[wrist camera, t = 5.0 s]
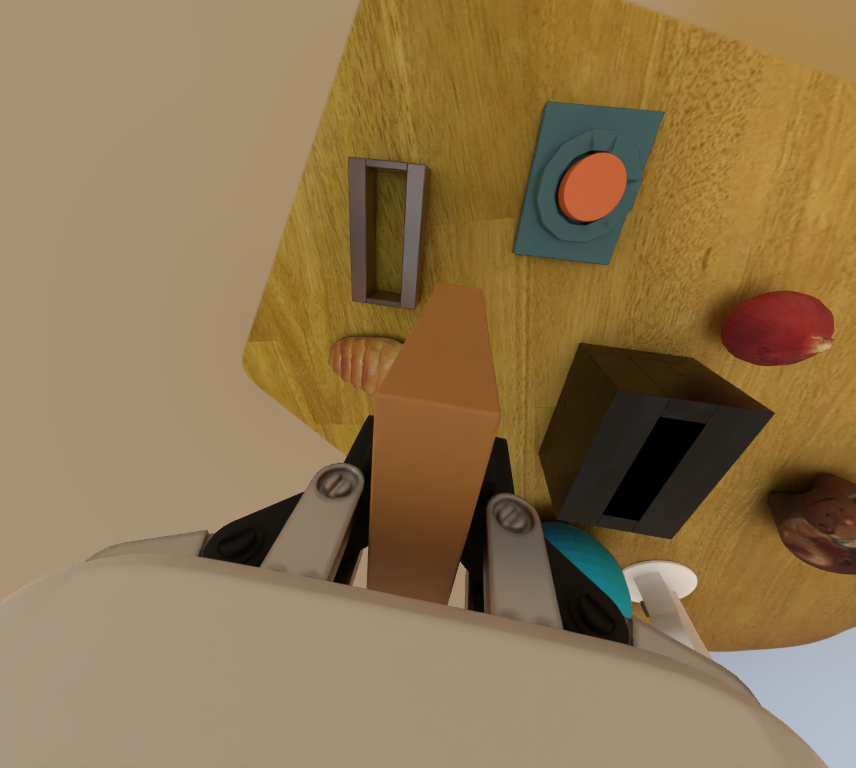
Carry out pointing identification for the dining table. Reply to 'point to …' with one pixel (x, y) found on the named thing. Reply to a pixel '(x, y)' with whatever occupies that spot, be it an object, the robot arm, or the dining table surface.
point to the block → (556, 153)
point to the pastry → (364, 360)
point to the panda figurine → (665, 598)
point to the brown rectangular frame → (365, 230)
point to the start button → (592, 187)
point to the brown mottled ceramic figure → (819, 523)
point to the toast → (431, 447)
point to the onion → (778, 328)
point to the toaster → (642, 439)
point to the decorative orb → (591, 561)
